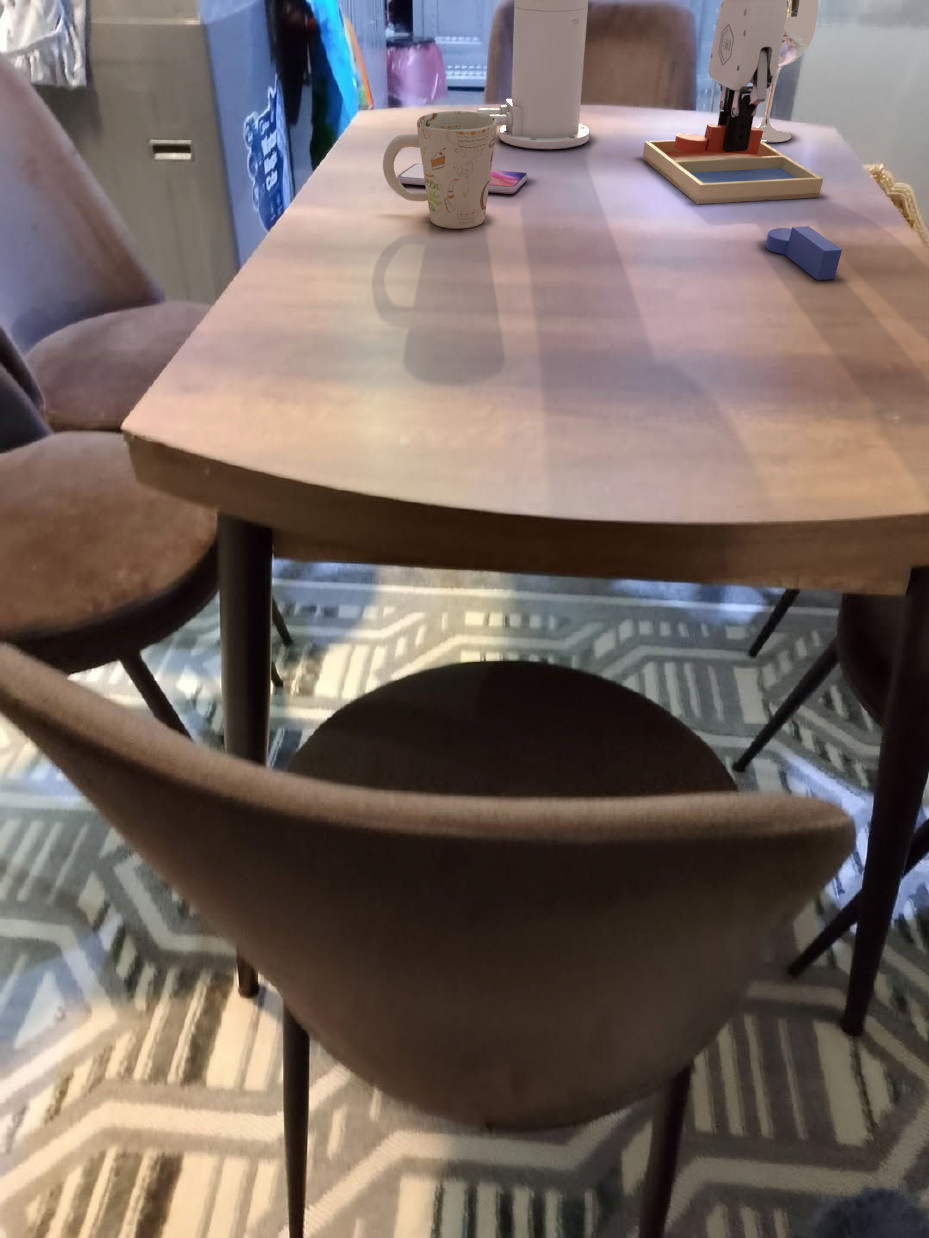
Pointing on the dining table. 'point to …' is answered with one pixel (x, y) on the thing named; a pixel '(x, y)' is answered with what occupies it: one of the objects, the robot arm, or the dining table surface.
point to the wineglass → (790, 54)
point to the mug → (449, 165)
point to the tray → (732, 174)
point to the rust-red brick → (715, 141)
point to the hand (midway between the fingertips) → (730, 147)
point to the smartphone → (498, 182)
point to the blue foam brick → (806, 250)
